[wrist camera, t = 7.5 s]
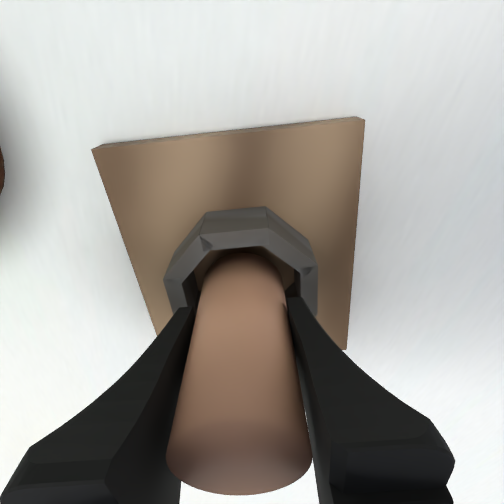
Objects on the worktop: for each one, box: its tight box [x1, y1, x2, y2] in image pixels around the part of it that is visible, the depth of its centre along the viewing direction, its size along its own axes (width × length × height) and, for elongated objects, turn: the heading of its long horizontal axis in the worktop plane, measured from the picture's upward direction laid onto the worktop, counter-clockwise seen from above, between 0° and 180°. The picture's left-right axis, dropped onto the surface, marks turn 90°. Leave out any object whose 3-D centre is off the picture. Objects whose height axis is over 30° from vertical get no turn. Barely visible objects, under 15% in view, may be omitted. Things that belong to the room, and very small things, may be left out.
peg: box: [166, 253, 313, 495], centre depth 12 cm, size 4×4×8 cm
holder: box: [91, 117, 365, 350], centre depth 16 cm, size 12×14×4 cm
